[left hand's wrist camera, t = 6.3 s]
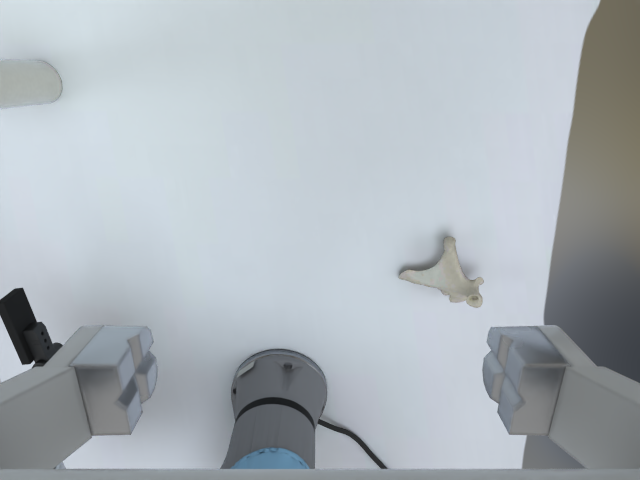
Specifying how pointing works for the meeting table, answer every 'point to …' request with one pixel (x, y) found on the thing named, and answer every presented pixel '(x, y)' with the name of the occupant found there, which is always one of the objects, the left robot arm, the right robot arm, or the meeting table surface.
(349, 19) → the meeting table surface
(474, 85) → the meeting table surface
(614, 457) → the left robot arm
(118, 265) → the meeting table surface
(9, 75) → the jar
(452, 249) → the bone
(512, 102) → the meeting table surface
